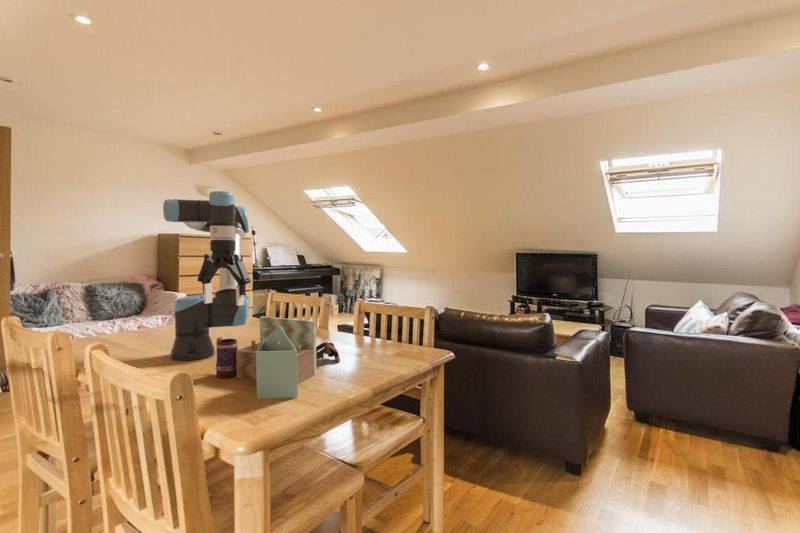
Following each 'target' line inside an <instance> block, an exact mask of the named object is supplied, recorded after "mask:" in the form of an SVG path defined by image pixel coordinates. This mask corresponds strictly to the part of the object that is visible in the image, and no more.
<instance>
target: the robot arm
mask: <svg viewBox="0 0 800 533" xmlns="http://www.w3.org/2000/svg"><path fill="white" fill-rule="evenodd" d="M208 195H209V198H208V200H206V199H205V200H202V199H201V200H200V199H198V200H195V199H178V198H173V199H169V198H168V199H165V200H164V201H163V206H162V209H163V210H162V211H163V212H162V213H163V218H164V220H165V222H170V223H171V222H172V223H184V224H185V226H186V227H188V228H190V229H192V230H195V231H200V232H204V233H205V232H206V233H209V238H210V239H211V240H210V241H209V242H210V243H209V245H210V247H209V248H210V251H211V253H205V254H204V255H203V256H204V258H203V263H202V265H201V268H200V271H199V274H198V276H197V282H200V283H201V284H202V293H199V294H193V295H187V296H183V297H179V298H178V299H176V300H175V302H174V311H173V312H174V329H175V330H174V331H175V332H174V334H175V338H174V341H173V343H172V344H173V345H172V349H171V350H170V359H172V360H175V361H194V360H201V359H205V358H210V357H211V356H214V355H215V346H214V345H213V340H212V338H211V336H210V328H222V327H223V328H224V327H225V328H226V327H227V328H228V327H238V326H244V325H247V321H248V318H249V313H250V300H251V299H250V296H249V295H247V292H246V289H247V288H246V285H247V284H250V283H251V282H252V281H251V277H250V275H249V273H248V270H247V268H246V265H245V263H244V258H243V255H242V254H243V253H242V250H243V249H242V248H243V247H242V246H243V244H242V240H243V239H244V238H245V237H246V234H247V233H249V223H248V215H247V214H248V213H247V210H246V208H245V207H244V206H239V205H235V202H236V200H235V195H234V193H233V192H231V191H224V190H213V191H210V193H209V194H208ZM218 270H219V271H218ZM217 272H219V275H218V276H219V277H218V278H219V279H218V290H216V291H215V293H214V297H213V283H212V280H213V278H214V276H215V275H216V273H217Z"/></svg>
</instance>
